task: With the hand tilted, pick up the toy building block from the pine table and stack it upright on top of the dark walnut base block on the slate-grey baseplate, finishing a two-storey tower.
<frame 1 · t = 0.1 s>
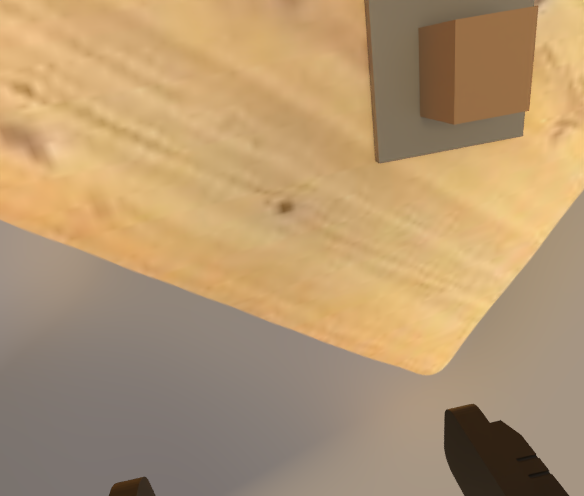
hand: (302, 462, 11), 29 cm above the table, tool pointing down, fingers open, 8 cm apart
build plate: (447, 68, 35), on the table
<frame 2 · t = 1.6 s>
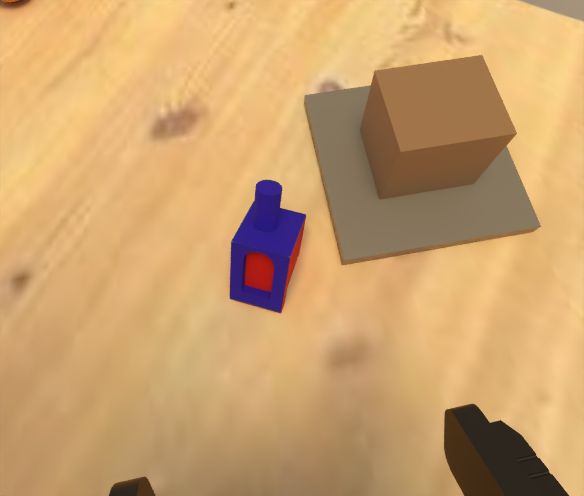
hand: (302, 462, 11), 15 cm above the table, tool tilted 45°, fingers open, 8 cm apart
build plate: (411, 163, 31), on the table
toy building block: (269, 264, 28), on the table
figurine: (26, 2, 37), on the table
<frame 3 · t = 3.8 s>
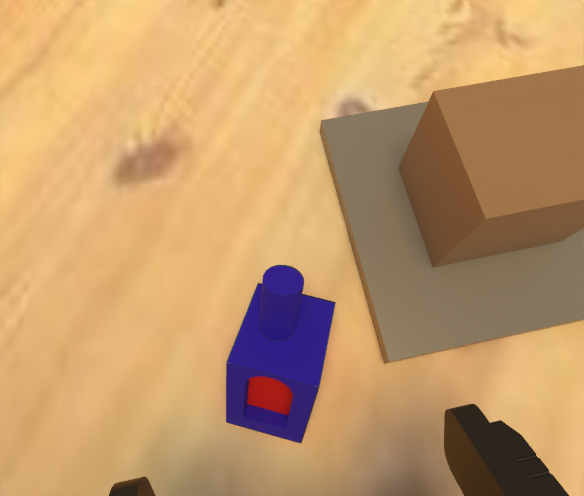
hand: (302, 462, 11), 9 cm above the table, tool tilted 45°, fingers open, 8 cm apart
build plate: (469, 211, 23), on the table
toy building block: (281, 364, 20), on the table
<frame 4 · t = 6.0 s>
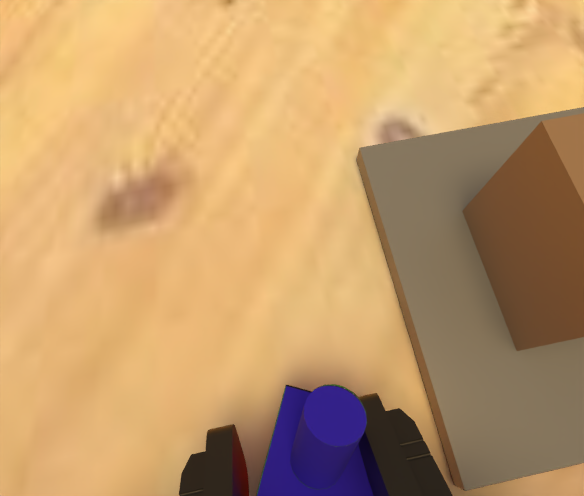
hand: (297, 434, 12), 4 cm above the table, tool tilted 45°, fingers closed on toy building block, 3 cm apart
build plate: (554, 267, 17), on the table
toy building block: (313, 484, 15), on the table, touching gripper
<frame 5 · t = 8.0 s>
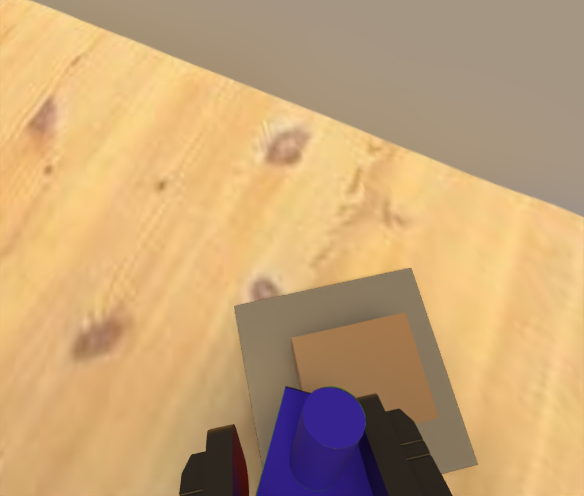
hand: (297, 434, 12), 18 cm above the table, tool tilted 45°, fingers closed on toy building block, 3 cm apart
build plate: (346, 380, 29), on the table
toy building block: (312, 485, 15), point 14 cm above the table, touching gripper
when the fingers open (12 cm above the table, at t = 10.0 s): toy building block drops 1 cm, resting on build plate.
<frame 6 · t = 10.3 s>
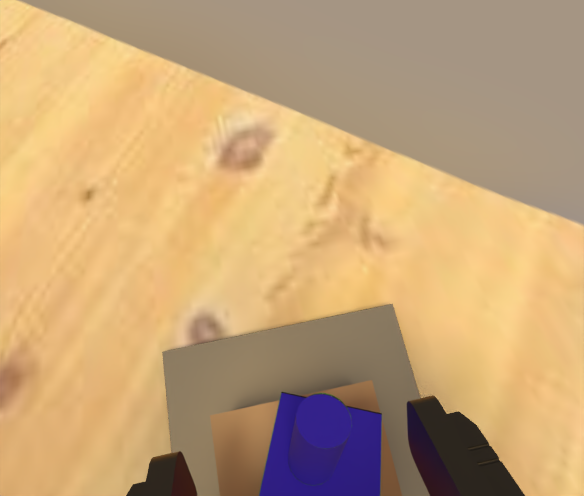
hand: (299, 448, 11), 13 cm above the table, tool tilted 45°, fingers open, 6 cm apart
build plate: (303, 453, 23), on the table
toy building block: (312, 478, 16), point 7 cm above the table, touching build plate
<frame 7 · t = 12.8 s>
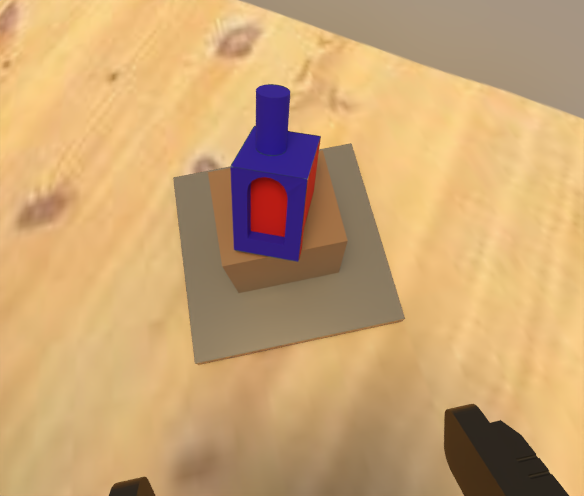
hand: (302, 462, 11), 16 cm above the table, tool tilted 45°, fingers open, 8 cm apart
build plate: (281, 247, 30), on the table
toy building block: (278, 208, 23), point 7 cm above the table, touching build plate
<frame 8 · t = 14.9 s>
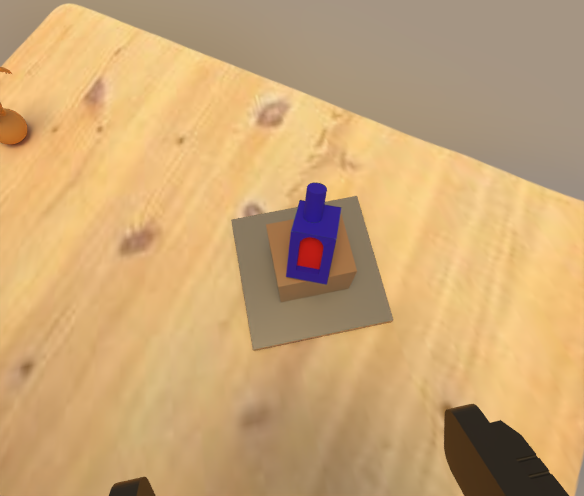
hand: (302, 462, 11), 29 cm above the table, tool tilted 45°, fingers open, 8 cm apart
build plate: (308, 270, 42), on the table
toy building block: (312, 249, 36), point 7 cm above the table, touching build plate
figurine: (25, 141, 49), on the table
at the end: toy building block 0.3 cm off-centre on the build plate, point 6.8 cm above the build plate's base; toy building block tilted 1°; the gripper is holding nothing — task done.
